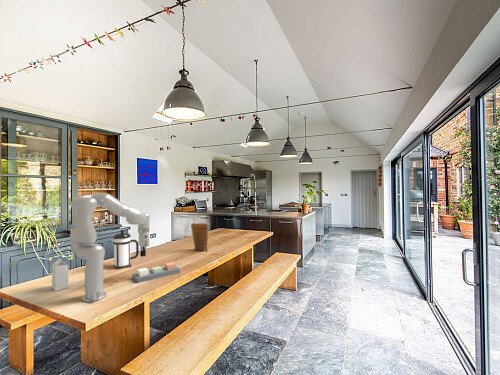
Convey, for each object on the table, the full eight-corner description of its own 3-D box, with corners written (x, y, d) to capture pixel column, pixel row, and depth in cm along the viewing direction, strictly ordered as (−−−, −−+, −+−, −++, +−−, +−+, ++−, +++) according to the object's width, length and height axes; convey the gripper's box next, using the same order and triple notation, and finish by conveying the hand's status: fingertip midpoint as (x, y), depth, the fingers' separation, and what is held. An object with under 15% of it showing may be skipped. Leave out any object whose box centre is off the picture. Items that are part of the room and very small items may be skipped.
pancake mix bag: (206, 252, 252) (206, 224, 252) (190, 250, 260) (190, 223, 260) (210, 250, 258) (209, 223, 258) (194, 249, 266) (194, 222, 266)
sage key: (162, 274, 189) (162, 268, 189) (154, 276, 185) (154, 269, 185) (159, 272, 193) (159, 266, 193) (151, 274, 189) (151, 267, 189)
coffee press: (125, 270, 201) (125, 232, 201) (107, 268, 205) (107, 231, 204) (139, 263, 218) (138, 228, 218) (122, 262, 221) (122, 227, 221)
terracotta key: (175, 270, 195) (175, 263, 195) (167, 272, 191) (167, 265, 191) (172, 268, 200) (171, 262, 200) (164, 270, 196) (164, 263, 196)
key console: (180, 272, 195) (180, 268, 195) (137, 283, 174) (137, 278, 174) (173, 268, 204) (173, 265, 204) (132, 278, 183) (132, 274, 183)
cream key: (148, 276, 182) (148, 269, 182) (140, 278, 178) (139, 271, 178) (145, 274, 187) (145, 267, 187) (137, 276, 183) (137, 269, 183)
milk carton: (65, 285, 172) (64, 256, 172) (68, 287, 167) (68, 258, 167) (52, 288, 166) (51, 259, 166) (55, 291, 162) (54, 261, 162)
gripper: (152, 231, 181) (151, 257, 181) (145, 228, 193) (145, 253, 192) (141, 232, 177) (140, 258, 176) (135, 229, 188) (134, 254, 188)
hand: (143, 256), depth 184 cm, fingers closed
